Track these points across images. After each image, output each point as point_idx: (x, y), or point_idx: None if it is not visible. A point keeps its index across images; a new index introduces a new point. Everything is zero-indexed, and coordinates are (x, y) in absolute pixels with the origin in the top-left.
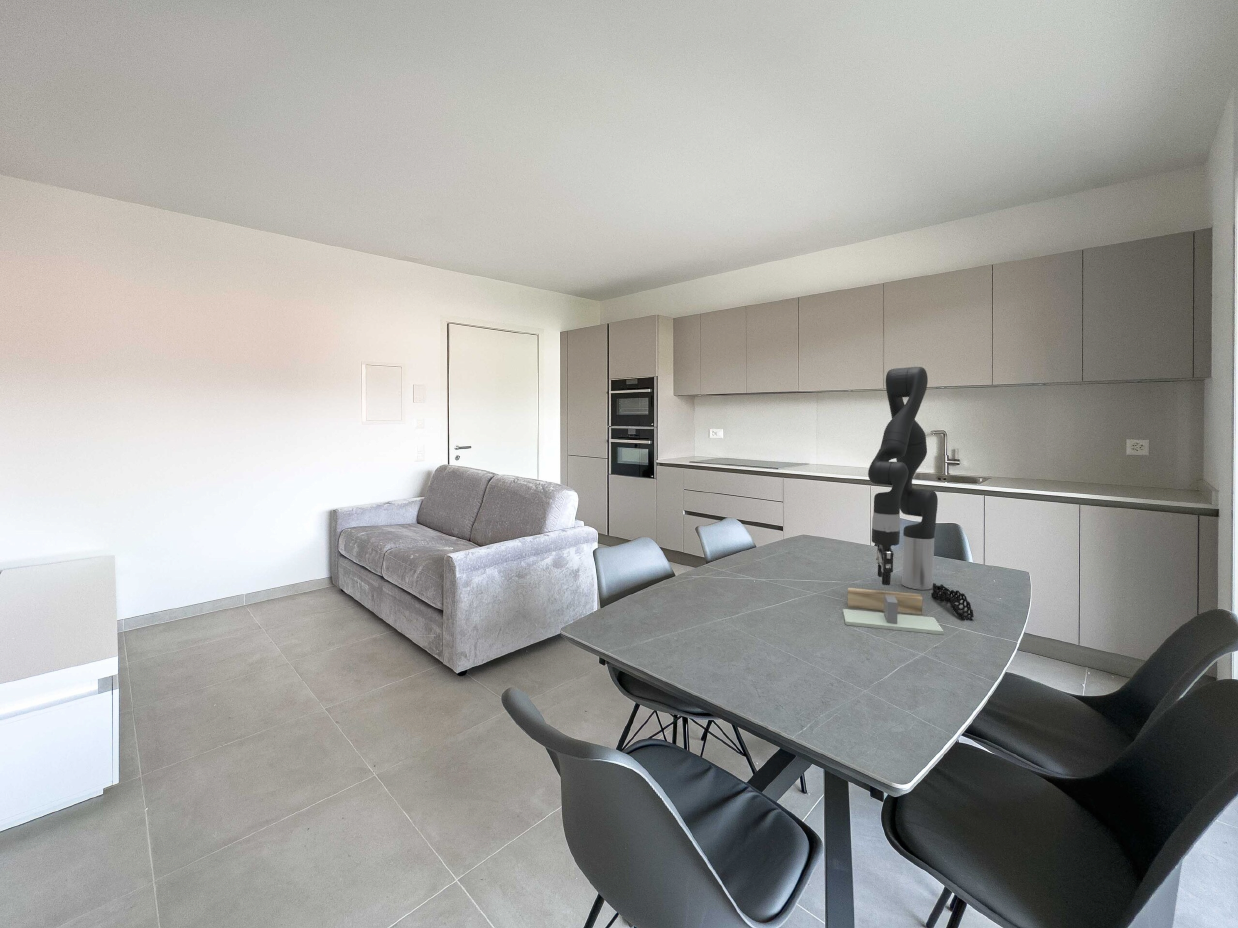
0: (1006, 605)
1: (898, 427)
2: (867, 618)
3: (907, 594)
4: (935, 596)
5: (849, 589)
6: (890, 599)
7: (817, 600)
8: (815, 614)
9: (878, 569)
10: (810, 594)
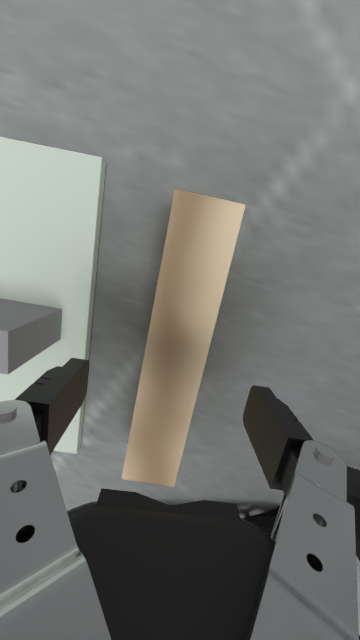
0: None
1: None
2: (9, 234)
3: (166, 445)
4: (267, 518)
5: (217, 206)
6: None
7: (248, 75)
8: (53, 10)
9: (270, 414)
10: (335, 58)
